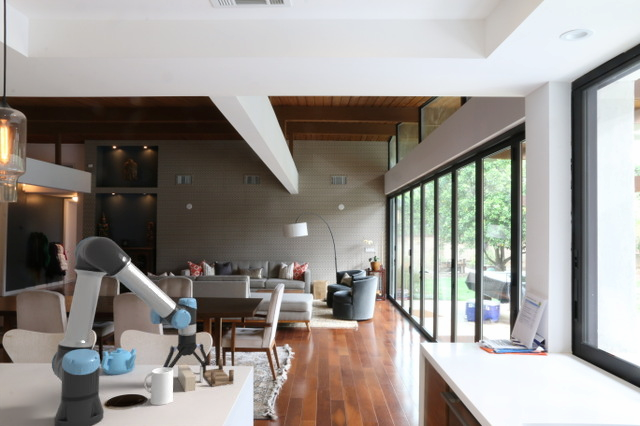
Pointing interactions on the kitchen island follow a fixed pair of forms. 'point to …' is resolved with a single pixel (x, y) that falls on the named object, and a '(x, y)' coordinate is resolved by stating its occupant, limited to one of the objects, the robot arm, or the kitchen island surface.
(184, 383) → the beige long block
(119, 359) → the teapot
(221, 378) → the rack
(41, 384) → the kitchen island surface
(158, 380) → the mug
